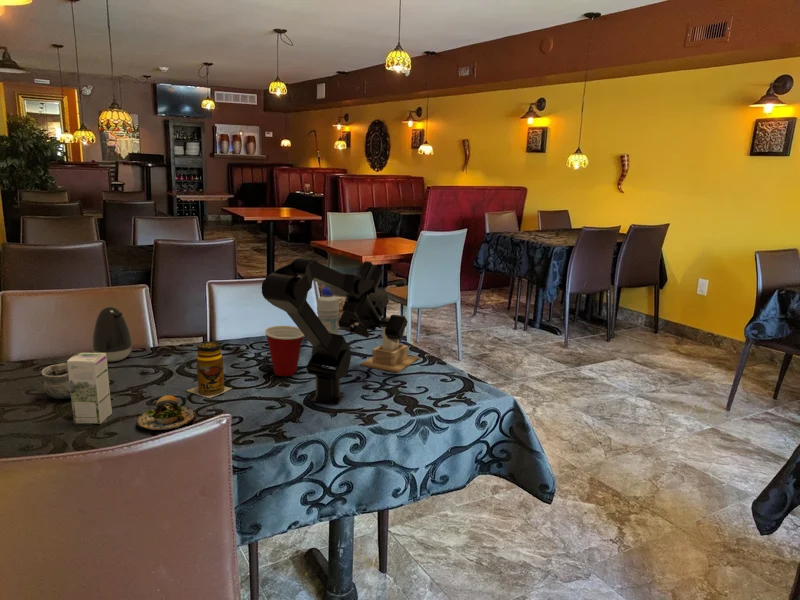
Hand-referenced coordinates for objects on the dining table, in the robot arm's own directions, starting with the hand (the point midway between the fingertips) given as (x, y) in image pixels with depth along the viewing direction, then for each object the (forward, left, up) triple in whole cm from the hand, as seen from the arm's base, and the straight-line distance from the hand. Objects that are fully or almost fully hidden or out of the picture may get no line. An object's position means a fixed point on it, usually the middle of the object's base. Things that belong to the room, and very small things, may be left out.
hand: (382, 338), depth 159 cm
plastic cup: (-10, +24, -9) cm, 28 cm away
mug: (-36, +67, -9) cm, 77 cm away
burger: (-45, +38, -9) cm, 60 cm away
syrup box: (-47, +54, -9) cm, 73 cm away
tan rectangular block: (+5, -2, -8) cm, 9 cm away
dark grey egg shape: (-10, +75, -9) cm, 77 cm away
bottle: (+10, +18, -9) cm, 23 cm away
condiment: (-26, +38, -9) cm, 47 cm away
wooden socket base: (+5, -2, -8) cm, 10 cm away
